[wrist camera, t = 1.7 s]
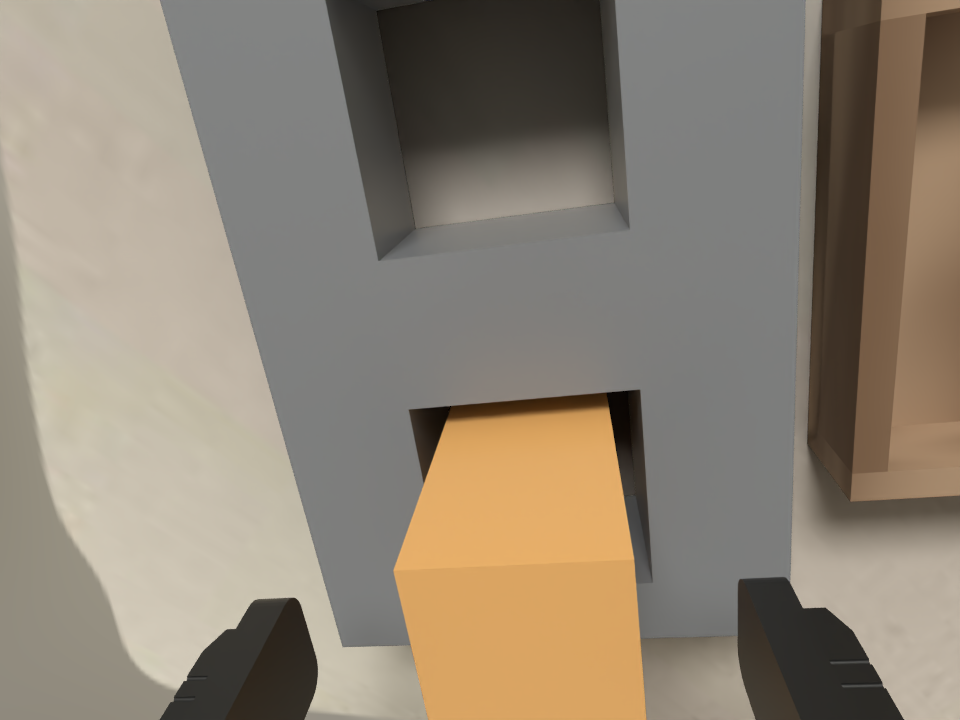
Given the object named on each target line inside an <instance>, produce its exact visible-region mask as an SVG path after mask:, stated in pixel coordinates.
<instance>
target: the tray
mask: <svg viewBox="0 0 960 720" xmlns="http://www.w3.org/2000/svg"><path fill="white" fill-rule="evenodd" d="M808 445H809V446H810V447H811V449H812V450H813V452H814V453H815V454H816V456H817V457H818V458H819V460H820V461H821V462H822V464H823V465H824V466H825V468H826V469H827V471H828V472H829V473H830V475H831V476H832V477H833V479H834V480H835V481H836V483H837V484H838V485H839V487H840V488H841V490H842V491H843V492H844V494H845V495H846V496H847V498H848V499H849V500H850V502H854V501H872V500H889V499H906V498H924V497H941V496H958V495H960V0H823V10H822V39H821V68H820V97H819V126H818V155H817V184H816V213H815V242H814V271H813V299H812V328H811V357H810V386H809V415H808Z"/></svg>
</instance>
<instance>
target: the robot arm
mask: <svg viewBox="0 0 960 720" xmlns="http://www.w3.org/2000/svg"><path fill="white" fill-rule="evenodd" d="M738 656H739V663H740V669H741V674H742V678H743V682H744V686H745V689H746V692H747V695H748V698H749V701H750V704H751V707H752V710H753V713H754V716H755V719H756V720H904V719H903V717H902V715H901V714H900V712H899V710H898V708H897V707H896V705H895V703H894V702H893V700H892V698H891V696H890V695H889V693H888V691H887V689H886V688H884V687H883V684H882V681H881V679H880V677H879V676H878V674H877V672H876V670H875V669H874V667H873V665H870V663H869V658H868V657H867V655H866V653H865V651H864V650H863V648H862V646H861V644H860V643H859V641H858V639H857V637H856V636H855V634H854V632H853V631H852V630H851V629H850V628H849V627H848V626H846V625H845V624H844V623H843V622H842V621H841V620H839V619H838V618H837V617H836V616H835V615H833V614H832V613H831V612H830V611H829V610H828V609H826V608H805V609H803V608H802V606H801V604H800V602H799V600H798V598H797V596H796V594H795V592H794V590H793V588H792V586H791V584H790V582H789V581H788V579H787V578H786V577H769V578H747V579H739V582H738ZM317 677H318V666H317V659H316V655H315V652H314V648H313V645H312V642H311V638H310V635H309V631H308V628H307V625H306V621H305V618H304V615H303V611H302V608H301V605H300V603H299V601H298V600H297V599H296V598H277V599H258V600H255V601H253V602H252V603H251V605H250V606H249V608H248V609H247V611H246V613H245V614H244V616H243V618H242V619H241V621H240V623H239V624H238V626H237V628H236V629H227V630H226V631H224V632H223V633H222V634H221V635H220V636H219V637H218V638H217V639H216V640H215V641H214V642H212V643H211V644H210V645H209V646H208V647H207V648H206V649H205V650H204V651H203V652H202V653H201V655H200V657H199V658H198V660H197V661H196V663H195V665H194V666H193V668H192V669H191V671H190V672H189V674H188V676H187V681H184V682H183V684H182V685H181V687H180V688H179V690H178V691H177V693H176V695H175V696H174V702H171V703H170V704H169V706H168V707H167V709H166V711H165V712H164V714H163V715H162V717H161V719H160V720H304V719H305V717H306V714H307V712H308V709H309V707H310V704H311V702H312V699H313V696H314V694H315V690H316V685H317Z"/></svg>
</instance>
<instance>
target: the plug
mask: <svg viewBox="0 0 960 720" xmlns="http://www.w3.org/2000/svg"><path fill="white" fill-rule="evenodd" d="M393 572H394V576H395V580H396V584H397V589H398V593H399V597H400V601H401V606H402V610H403V614H404V618H405V623H406V627H407V631H408V635H409V640H410V644H411V648H412V652H413V657H414V661H415V665H416V669H417V674H418V678H419V682H420V686H421V691H422V695H423V699H424V703H425V708H426V712H427V716H428V720H646V708H645V695H644V682H643V669H642V656H641V642H640V629H639V616H638V603H637V590H636V577H635V563H634V555H633V549H632V543H631V537H630V531H629V525H628V519H627V513H626V507H625V501H624V495H623V489H622V483H621V477H620V471H619V465H618V459H617V453H616V447H615V441H614V435H613V429H612V423H611V417H610V411H609V405H608V399H607V393H606V392H605V393H593V394H582V395H570V396H559V397H547V398H536V399H524V400H513V401H501V402H490V403H478V404H466V405H455V406H451V409H450V412H449V415H448V417H447V420H446V423H445V426H444V429H443V432H442V434H441V437H440V440H439V443H438V446H437V449H436V451H435V454H434V457H433V460H432V463H431V465H430V468H429V471H428V474H427V477H426V480H425V482H424V485H423V488H422V491H421V494H420V497H419V499H418V502H417V505H416V508H415V511H414V514H413V516H412V519H411V522H410V525H409V528H408V531H407V533H406V536H405V539H404V542H403V545H402V548H401V550H400V553H399V556H398V559H397V562H396V564H395V567H394V570H393Z"/></svg>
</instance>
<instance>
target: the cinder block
mask: <svg viewBox="0 0 960 720" xmlns="http://www.w3.org/2000/svg"><path fill="white" fill-rule="evenodd" d="M425 1H431V0H160V2H161V6H162V9H163V13H164V16H165V20H166V23H167V27H168V30H169V34H170V37H171V41H172V45H173V48H174V52H175V55H176V59H177V62H178V66H179V69H180V73H181V76H182V80H183V83H184V87H185V91H186V94H187V98H188V101H189V105H190V108H191V112H192V115H193V119H194V122H195V126H196V129H197V133H198V137H199V140H200V144H201V147H202V151H203V154H204V158H205V161H206V165H207V168H208V172H209V176H210V179H211V183H212V186H213V190H214V193H215V197H216V200H217V204H218V207H219V211H220V214H221V218H222V222H223V225H224V229H225V232H226V236H227V239H228V243H229V246H230V250H231V253H232V257H233V260H234V264H235V268H236V271H237V275H238V278H239V282H240V285H241V289H242V292H243V296H244V299H245V303H246V306H247V310H248V314H249V317H250V321H251V324H252V328H253V331H254V335H255V338H256V342H257V345H258V349H259V352H260V356H261V360H262V363H263V367H264V370H265V374H266V377H267V381H268V384H269V388H270V391H271V395H272V398H273V402H274V406H275V409H276V413H277V416H278V420H279V423H280V427H281V430H282V434H283V437H284V441H285V445H286V448H287V452H288V455H289V459H290V462H291V466H292V469H293V473H294V476H295V480H296V483H297V487H298V491H299V494H300V498H301V501H302V505H303V508H304V512H305V515H306V519H307V522H308V526H309V529H310V533H311V537H312V540H313V544H314V547H315V551H316V554H317V558H318V561H319V565H320V568H321V572H322V575H323V579H324V583H325V586H326V590H327V593H328V597H329V600H330V604H331V607H332V611H333V614H334V618H335V621H336V625H337V629H338V632H339V636H340V639H341V643H342V646H343V647H364V646H399V645H411V644H410V640H409V635H408V631H407V627H406V623H405V618H404V614H403V610H402V606H401V601H400V597H399V593H398V589H397V584H396V580H395V576H394V572H393V570H394V567H395V564H396V562H397V559H398V556H399V553H400V550H401V548H402V545H403V542H404V539H405V536H406V533H407V531H408V528H409V525H410V522H411V519H412V516H413V514H414V511H415V508H416V505H417V502H418V499H419V497H420V494H421V491H422V488H423V485H424V482H425V480H426V477H427V474H428V471H429V468H430V465H431V463H432V460H433V457H434V454H435V451H436V449H437V446H438V443H439V440H440V437H441V434H442V432H443V429H444V426H445V423H446V420H447V417H448V415H449V413H448V407H447V406H455V405H466V404H478V403H490V402H501V401H513V400H524V399H536V398H547V397H559V396H570V395H582V394H593V393H605V392H616V391H628V399H629V413H630V427H631V441H632V455H633V468H634V482H635V495H633V496H624V501H625V507H626V513H627V519H628V525H629V531H630V537H631V543H632V549H633V555H634V563H635V577H636V590H637V603H638V616H639V629H640V639H645V638H680V637H715V636H738V582H739V579H747V578H769V577H786V578H787V579H788V581H789V582H790V571H791V533H792V495H793V457H794V419H795V381H796V343H797V305H798V267H799V229H800V191H801V153H802V115H803V77H804V39H805V1H806V0H600V11H601V25H602V39H603V53H604V67H605V80H606V94H607V108H608V122H609V136H610V150H611V164H612V177H613V191H614V203H609V204H601V205H594V206H586V207H578V208H571V209H563V210H556V211H548V212H540V213H533V214H525V215H517V216H510V217H502V218H494V219H487V220H479V221H472V222H464V223H456V224H449V225H441V226H433V227H426V228H418V229H415V224H414V218H413V213H412V207H411V202H410V196H409V191H408V185H407V180H406V174H405V168H404V163H403V157H402V152H401V146H400V141H399V135H398V130H397V124H396V118H395V113H394V107H393V102H392V96H391V91H390V85H389V80H388V74H387V68H386V63H385V57H384V52H383V46H382V41H381V35H380V30H379V24H378V18H377V13H376V11H377V10H383V9H388V8H393V7H399V6H404V5H409V4H415V3H420V2H425Z"/></svg>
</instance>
